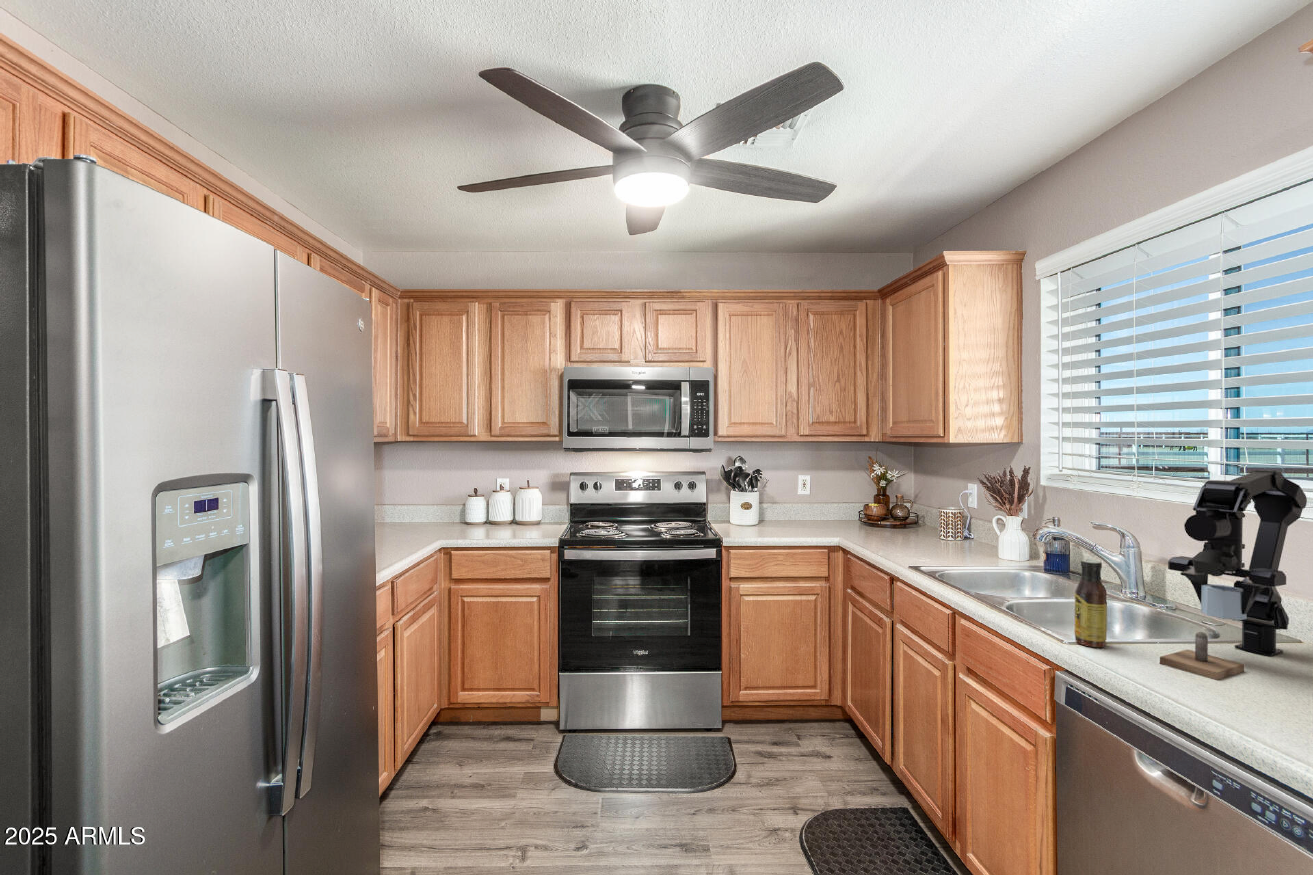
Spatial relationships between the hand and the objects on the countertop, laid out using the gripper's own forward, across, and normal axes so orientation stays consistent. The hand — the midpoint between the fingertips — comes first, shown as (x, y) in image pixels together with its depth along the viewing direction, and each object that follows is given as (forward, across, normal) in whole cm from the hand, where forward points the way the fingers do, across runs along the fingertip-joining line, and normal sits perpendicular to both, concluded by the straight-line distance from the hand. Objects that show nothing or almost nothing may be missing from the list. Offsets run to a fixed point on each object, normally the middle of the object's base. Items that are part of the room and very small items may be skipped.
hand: (1223, 609), depth 138 cm
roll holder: (+11, 0, -9) cm, 14 cm away
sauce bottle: (+12, -19, -15) cm, 27 cm away
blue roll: (+1, 0, 0) cm, 1 cm away
